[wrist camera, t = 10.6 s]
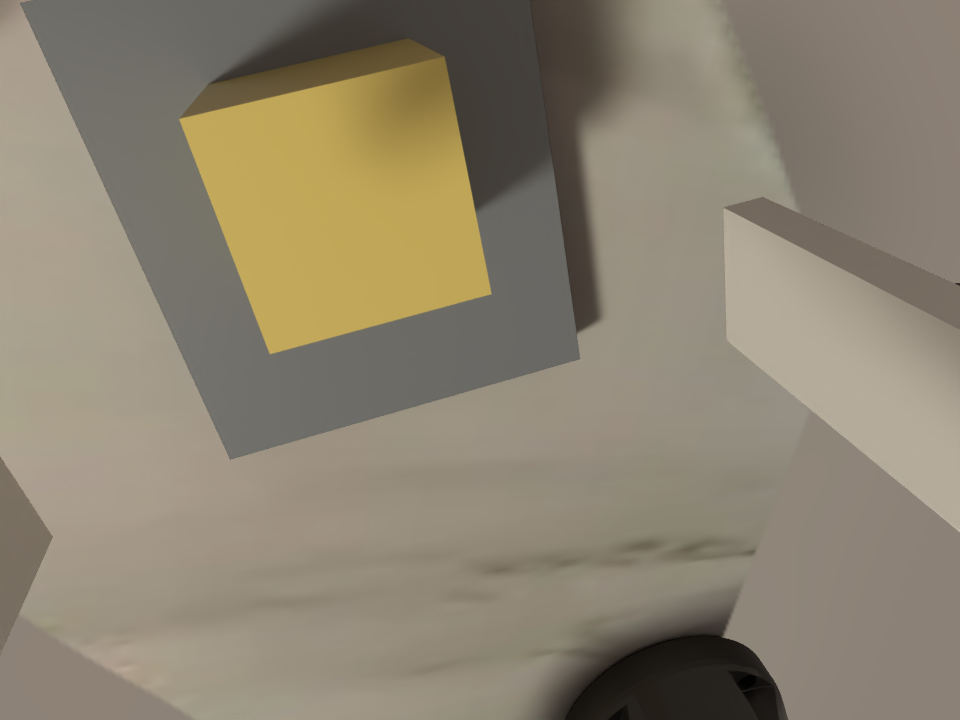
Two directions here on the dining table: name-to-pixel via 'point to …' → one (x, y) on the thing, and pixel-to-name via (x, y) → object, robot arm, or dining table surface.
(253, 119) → the mustard yellow cube
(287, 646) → the dining table surface
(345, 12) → the board
